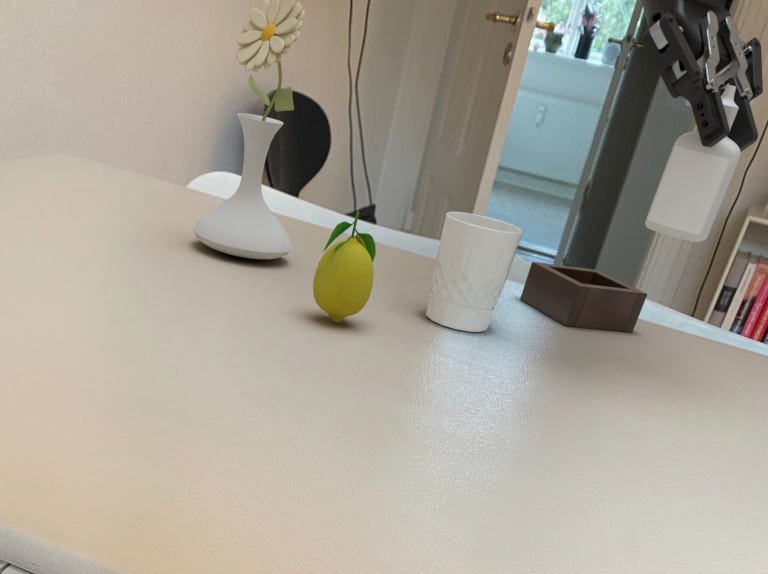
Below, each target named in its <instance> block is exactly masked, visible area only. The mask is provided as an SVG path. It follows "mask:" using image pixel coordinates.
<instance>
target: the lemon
mask: <svg viewBox="0 0 768 574" xmlns="http://www.w3.org/2000/svg"><path fill="white" fill-rule="evenodd" d="M359 215H360V212H359V210H356V213H355V218H354V221H353V222H352V223H350V222H348V221H341V222H339V223H338V224H336V226H335V227H334V229H333V230H332V232H331V233H330V236H329V238H328V240H327V243H326V244H325V246H324V249H323V250H322V252H324V254H323V255H322V256H321V258H320V260H319V261H318V264H317V267H316V270H315V273H314V277H313V281H312V282H313V283H312V293H313V298H314V300H315V303H316V304H317V306H318V307H319V308H320V309H321V310H322V311H324V312H325V313H326V314H327V315H328V316H329V318H330V319H331V321H332V322H334V323H340V322H341V321H342V320H344V318H347V317H351V316H354V315H356V314H358V313H360V312H361V311H362V310H363V309H364V307H365V306H366V304H367V303H368V301H369V300H370V296H371V294H372V289H373V285H374V277H375V276H374V273H375V272H374V264H373V263H374V260H375V258H376V253H377V249H376V242H375V240H374V237H373V236H372V235H371V234H370V233H367V232H366V233H365V232H359V231H358V229H357V223H358V221H359ZM351 227H352V231H351V235H350V236H348V237H347V238H346V239H345V240H342V241H338V242H336V243H334V244H332V243H333V242H334V241H335V240H336V239H337V238H339V236H340V235H342V234H343V233H345V232H346V231H348V229H349V228H351ZM355 233H356V235H355ZM331 244H332V245H331ZM329 246H330V247H329ZM327 248H328V249H327Z"/></svg>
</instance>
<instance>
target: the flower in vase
mask: <svg viewBox="0 0 768 574" xmlns="http://www.w3.org/2000/svg"><path fill="white" fill-rule="evenodd" d="M302 9H303V6H302V4H301V3H300V2H299V1H297V2H296V0H263V1H262V2H261V3H260V8H257V7H254V8H252V9H251V10H250V11H249V19H250V20H249V19H248V20H246V21H245V22H244V23H243V25H242V30H241V32H240V34H239V35H238V36H237V38H236V43H237V44H238V46H239V47H240V48H238V49H237V51H236V53H235V59H236V60H237V62H238V63H239V64H240V65H241V66H244V70H245V72H251V71H253V72H258V71H260V70H261V69H262V68H264V69H265V70H268V69H269V68H270V67H272V66H273V65H274V64H277V73H278V83H277V88H276V91H275V93H274V95H273V97H272V99H271V101H270V98H269V97H268V95H267V94H266V93H265V92H264V91H263V90H262V89H261V88H260V87H259V86H258V85H257V83H256V81H255V80H254V77H253V76H252V73H250V74H249V76H248V85H249V87H250V88H251V90H252V91H253V92H254V93H255V94H256V96H258V97H259V99H260V100H261V101H262V102H263V103H264V104H265V105H266V106H267V108H266V109H265V112H264V114H263V115H260V114H259V115H258V114H252V113H246V112H238V113H237V114H236V115H237V118H238V120H239V123H240V125H241V129H242V134H243V145H244V148H243V165H242V172H241V178H240V181H239V185H238V187H237V189H236V191H235V192H234V193H233V194H232V195H231V196H230V197H229V198H227V199H226V200H224V201H223V202H221V203H220V204H218V205H216V206H215V207H213V208H212V209H210V210H208V211H207V212H205V214H203V215H202V216H201V217H200V218H199V219H198V220H197V221H196V222H195V224H194V226H193V229H192V231H193V233H194V235H195V237H196V239H198V240H199V241H200V242H201V243H202V244H204V245H206V246H207V247H208V248H211V249H213V250H216V251H218V252H221V253H224V254H227V255H230V256H234V257H238V258H244V259H250V260H275V259H279V258H282V257H286V256H288V254H289V253H290V252H291V251H292V250H293V244H292V240H291V238H290V235H289V234H288V232H287V230H286V229H285V227H284V226H283V225H282V223H281V222H280V221H279V220H278V218H277V217H276V215H275V214H274V213H273V212H272V210H271V209H270V208H269V206H268V205H267V203H266V201H265V198H264V195H263V191H262V190H263V187H262V186H263V185H262V182H263V174H264V169H265V163H266V159H267V155H268V152H269V149H270V147H271V143H272V141H273V139H274V138H275V135H276V134H277V132H278V131H279V130H280V129H281V128H282V127H283V125H284V122H283V121H281V120H278V119H275V118H272V117H268V115H269V113H270V111H271V109H272V108H273V106H274V111H275V112H284V111H294V110H295V106H294V98H293V88H292V86H288V87H284V88H282V84H283V71H282V69H283V68H282V62H281V61H282V58H283V55H286V54H288V52H289V51H290V49H291V45H293V43H295V42H297V41H298V40H299V38H300V36H301V32H300V30H301V29H302V27H303V25H304V22H303V20H304V18H305V16H306V11H305V10H302ZM281 88H282V89H281Z"/></svg>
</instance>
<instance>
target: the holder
mask: <svg viewBox="0 0 768 574" xmlns="http://www.w3.org/2000/svg"><path fill="white" fill-rule="evenodd" d="M523 285H524V286H523V288H522V292H521V296H520V298H519V300H520V301H522V302H524V303H526V304H527V305H529V306H531V307H532V308H534V309H536V310H538V311H539V312H540V313H543V314H545V315H547V316H548V317H549V318H552V319H553V320H555V321H556V322H558V323H560V324H562V325H564V326H565V327H574V328H583V329H595V330H603V331H615V332H625V333H633V332H634V330H635V327H636V324H637V322H638V319H639V318H640V314H641V312H642V309H643V307H644V304H645V302H646V299H647V297H648V293H647V292H644V291H643V290H641V289H638V288H636V287H634V286H632V285H631V284H628V283H626V282H623V281H621V280H619V279H618V278H616V277H613V276H611V275H609V274H607V273H605V272H602V271H600V270H598V269H593V268H587V267H586V268H585V267H577V266H569V265H561V264H554V263H546V262H537V261H532V262H531V264H530V267H529V270H528V273H527V276H526V279H525V283H524V284H523Z"/></svg>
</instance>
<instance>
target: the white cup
mask: <svg viewBox="0 0 768 574" xmlns="http://www.w3.org/2000/svg"><path fill="white" fill-rule="evenodd" d="M523 233H524V231H523V229H522V228H520V227H518V226H517V225H514V224H511V223H509V222H506V221H503V220H500V219H496V218H493V217H489V216H484V215H479V214H475V213H470V212H464V211H463V212H462V211H448V212H446V213H445V218H444V221H443V226H442V231H441V235H440V239H439V244H438V249H437V254H436V258H435V264H434V268H433V272H432V280H431V283H430V290H431V291H430V292H429V298H428V303H427V307H426V313H425V316H426V317H427V318H428V319H429V320H430V321H432V322H434V323H436V324H438V325H441V326H444V327H446V328H450V329H454V330H458V331H465V332H472V333H481V332H484V331H487V330H488V328H489V325H490V322H491V319H492V316H493V313H494V311H495V307H496V305H497V304H498V302H499V300H500V297H501V294H502V293H503V289H504V286H505V283H506V281H507V279H508V276H509V273H510V270H511V267H512V264H513V261H514V258H515V256H516V253H517V251H518V247H519V244H520V241H521V239H522V236H523Z"/></svg>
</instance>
